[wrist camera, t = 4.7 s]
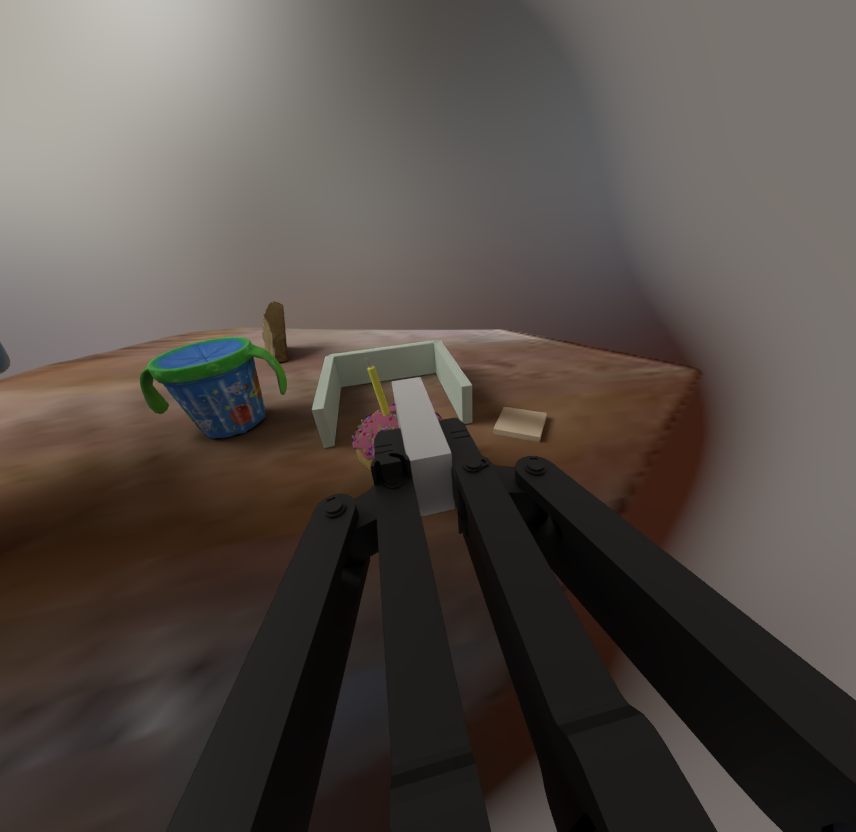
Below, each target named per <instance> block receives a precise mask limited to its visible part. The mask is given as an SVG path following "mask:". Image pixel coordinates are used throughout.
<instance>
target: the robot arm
mask: <svg viewBox="0 0 856 832" xmlns="http://www.w3.org/2000/svg"><path fill="white" fill-rule="evenodd" d="M9 366H10V359H9V356H8V354H7V353H6V351H5V349H4V347H3V346H2V344H1V343H0V374H1V373H3V372H5V371H6V370H7V369H8V367H9ZM392 388H393V394H394V400H395V406H396V412H397V418H398V425H399V428H398V429H392V430H386V431H380V432H378V433H377V435H376V436H375V438H374V451H375V458H374V460H373V461H372V462H371V466H370V468H371V472H372V476H373V480H374V485H373V487H372V488H371V489H370V490H369V491H367V492H366V493H364V494H362V495H361V496H358V497H356V498H354V499H353V498H352V497H351V496H349V495H346V494H336V495H332V496H330V497H327V498H325V499H324V500H323V501H321V502H320V503H319V504H318V506H317V507H316V508H315V510H314V512H313V514H312V517H311V519H310V521H309V523H308V525H307V527H306V530H305V532H304V534H303V536H302V538H301V540H300V542H299V545H298V547H297V549H296V551H295V553H294V555H293V558H292V560H291V562H290V564H289V566H288V568H287V571H286V573H285V575H284V577H283V579H282V581H281V584H280V586H279V588H278V590H277V592H276V594H275V597H274V599H273V601H272V603H271V605H270V607H269V610H268V612H267V614H266V616H265V618H264V620H263V623H262V625H261V627H260V629H259V631H258V633H257V636H256V638H255V640H254V642H253V644H252V646H251V649H250V651H249V653H248V655H247V657H246V659H245V662H244V664H243V666H242V668H241V670H240V672H239V674H238V677H237V679H236V681H235V683H234V685H233V687H232V690H231V692H230V694H229V696H228V698H227V700H226V703H225V705H224V707H223V709H222V711H221V713H220V716H219V718H218V720H217V722H216V724H215V726H214V729H213V731H212V733H211V735H210V737H209V739H208V742H207V744H206V746H205V748H204V750H203V752H202V755H201V757H200V759H199V761H198V763H197V765H196V768H195V770H194V772H193V774H192V776H191V778H190V781H189V783H188V785H187V787H186V789H185V791H184V794H183V796H182V798H181V800H180V802H179V804H178V806H177V809H176V811H175V813H174V815H173V817H172V819H171V822H170V824H169V826H168V828H167V830H166V832H308V827H309V823H310V819H311V814H312V810H313V806H314V801H315V797H316V792H317V788H318V784H319V779H320V775H321V771H322V766H323V762H324V758H325V753H326V749H327V745H328V740H329V736H330V732H331V727H332V723H333V719H334V714H335V710H336V706H337V701H338V697H339V693H340V688H341V684H342V679H343V675H344V671H345V666H346V662H347V658H348V653H349V649H350V645H351V640H352V636H353V632H354V627H355V623H356V619H357V614H358V610H359V606H360V601H361V597H362V593H363V588H364V584H365V580H366V575H367V571H368V566H369V562H370V556H372V555H374V554H376V553H377V552H379V564H380V581H381V597H382V614H383V630H384V647H385V663H386V680H387V696H388V713H389V729H390V745H391V765H392V776H391V784H390V832H491V829H490V825H489V820H488V816H487V812H486V807H485V802H484V798H483V793H482V789H481V784H480V780H479V776H478V772H477V768H476V764H475V760H474V757H473V754H472V750H471V746H470V742H469V737H468V732H467V728H466V723H465V718H464V714H463V709H462V704H461V700H460V695H459V690H458V686H457V681H456V677H455V672H454V667H453V663H452V658H451V653H450V649H449V644H448V640H447V635H446V630H445V626H444V621H443V616H442V612H441V607H440V602H439V598H438V593H437V589H436V584H435V579H434V575H433V570H432V565H431V561H430V556H429V552H428V547H427V542H426V538H425V533H424V528H423V524H422V519H421V516H424V515H429V514H434V513H439V512H444V511H448V510H453V509H455V504H456V507H457V510H458V526H459V534H462V533H463V536H464V539H465V542H466V545H467V548H468V551H469V554H470V557H471V560H472V563H473V566H474V569H475V572H476V575H477V578H478V581H479V584H480V587H481V590H482V593H483V596H484V599H485V602H486V605H487V607H488V610H489V613H490V616H491V619H492V622H493V625H494V628H495V631H496V634H497V637H498V640H499V643H500V646H501V649H502V652H503V655H504V658H505V661H506V664H507V667H508V670H509V673H510V676H511V679H512V682H513V685H514V688H515V691H516V694H517V697H518V700H519V703H520V706H521V709H522V712H523V715H524V718H525V721H526V724H527V727H528V730H529V733H530V736H531V739H532V742H533V745H534V748H535V751H536V754H537V757H538V760H539V764H540V768H541V772H542V777H543V783H544V788H545V792H546V796H547V800H548V804H549V807H550V810H551V813H552V817H553V820H554V823H555V826H556V829H557V832H717V830H716V828H715V827H714V825H713V823H712V822H711V820H710V818H709V817H708V815H707V813H706V811H705V810H704V808H703V806H702V805H701V803H700V801H699V800H698V798H697V796H696V795H695V793H694V791H693V789H692V788H691V786H690V784H689V783H688V781H687V779H686V778H685V776H684V774H683V773H682V771H681V770H680V768H679V766H678V764H677V762H676V761H675V759H674V758H673V756H672V754H671V752H670V751H669V749H668V747H667V746H666V744H665V742H664V741H663V739H662V738H661V736H660V735H659V733H658V732H657V730H656V729H655V727H654V726H653V725H652V723H651V722H650V721H649V720H648V719H647V718H646V717H645V716H644V714H643V713H641V712H640V711H638V710H637V709H635V708H634V707H632V706H631V705H629V704H628V703H627V701H626V700H625V699H624V698H623V696H622V694H621V693H620V691H619V690H618V688H617V686H616V684H615V682H614V681H613V679H612V677H611V675H610V674H609V672H608V670H607V668H606V666H605V665H604V663H603V661H602V659H601V657H600V656H599V654H598V652H597V650H596V649H595V647H594V645H593V643H592V641H591V640H590V638H589V636H588V634H587V633H586V631H585V629H584V627H583V625H582V624H581V622H580V620H579V618H578V617H577V615H576V613H575V611H574V609H573V607H572V606H571V604H570V602H569V600H568V599H567V597H566V595H565V593H564V591H563V590H562V588H561V586H560V584H559V582H558V581H557V579H556V577H555V575H554V574H553V572H554V573H555V574H556V575H557V576H558V577H559V578H560V580H561V581H562V582H563V583H564V584H565V585H566V587H567V588H568V589H569V590H570V591H571V592H572V593H573V595H574V596H575V597H576V598H577V599H578V600H579V602H580V603H581V604H582V605H583V606H584V607H585V609H586V610H587V611H588V612H589V613H590V614H591V615H592V617H593V618H594V619H595V620H596V621H597V622H598V624H599V625H600V626H601V627H602V628H603V629H604V631H605V632H606V633H607V634H608V635H609V636H610V637H611V639H612V640H613V641H614V642H615V643H616V644H617V645H618V647H619V648H620V649H621V650H622V651H623V652H624V654H625V655H626V656H627V657H628V658H629V659H630V661H631V662H632V663H633V664H634V665H635V666H636V668H637V669H638V670H639V671H640V672H641V673H642V674H643V676H644V677H645V678H646V679H647V680H648V681H649V683H650V684H651V685H652V686H653V687H654V688H655V689H656V690H657V692H658V693H659V694H660V695H661V696H662V698H663V699H664V700H665V701H666V702H667V703H668V705H669V706H670V707H671V708H672V709H673V710H674V711H675V713H676V714H677V715H678V716H679V717H680V718H681V720H682V721H683V722H684V723H685V724H686V725H687V726H688V728H689V729H690V730H691V731H692V732H693V733H694V734H695V736H696V737H697V738H698V739H699V740H700V742H701V743H702V744H703V745H704V746H705V747H706V748H707V750H708V751H709V752H710V753H711V754H712V755H713V757H714V758H715V759H716V760H717V761H718V762H719V764H720V765H721V766H722V767H723V768H724V769H725V770H726V772H727V773H728V774H729V775H730V776H731V777H732V778H733V780H734V781H735V782H736V783H737V784H738V785H739V786H740V787H741V788H742V789H743V790H744V792H745V793H746V794H747V795H748V796H749V797H750V798H751V799H752V800H753V801H754V802H755V804H756V805H757V806H758V807H759V808H760V809H761V810H762V811H763V812H764V813H765V814H766V815H767V816H768V817H769V818H770V819H771V820H772V821H773V822H774V823H775V824H776V825H777V826H778V827H779V828H780V829H781V830H782V831H783V832H856V700H854V699H853V698H852V697H851V696H849V695H848V694H847V693H846V692H844V691H843V690H842V689H840V688H839V687H838V686H837V685H835V684H834V683H833V682H832V681H830V680H829V679H828V678H826V677H825V676H824V675H823V674H821V673H820V672H819V671H817V670H816V669H815V668H813V667H812V666H811V665H810V664H808V663H807V662H806V661H804V660H803V659H802V658H801V657H800V656H798V655H797V654H796V653H794V652H793V651H792V650H791V649H789V648H788V647H787V646H785V645H784V644H783V643H782V642H780V641H779V640H778V639H776V638H775V637H774V636H773V635H771V634H770V633H769V632H768V631H766V630H765V629H764V628H762V627H761V626H760V625H758V624H757V623H756V622H755V621H753V620H752V619H751V618H750V617H748V616H747V615H746V614H744V613H743V612H742V611H741V610H739V609H738V608H737V607H736V606H734V605H733V604H732V603H730V602H729V601H728V600H727V599H725V598H724V597H723V596H721V595H720V594H719V593H717V592H716V591H715V590H714V589H713V588H711V587H710V586H709V585H707V584H706V583H705V582H704V581H702V580H701V579H700V578H698V577H697V576H696V575H695V574H693V573H692V572H691V571H690V570H688V569H687V568H686V567H684V566H683V565H682V564H681V563H679V562H678V561H677V560H675V559H674V558H673V557H672V556H670V555H669V554H668V553H666V552H665V551H664V550H663V549H661V548H660V547H659V546H658V545H656V544H655V543H654V542H652V541H651V540H650V539H649V538H647V537H646V536H645V535H643V534H642V533H641V532H640V531H638V530H637V529H636V528H634V527H633V526H632V525H631V524H629V523H628V522H627V521H626V520H624V519H623V518H622V517H620V516H619V515H618V514H617V513H615V512H614V511H613V510H612V509H610V508H609V507H608V506H606V505H605V504H604V503H603V502H601V501H600V500H599V499H597V498H596V497H595V496H594V495H592V494H591V493H590V492H588V491H587V490H586V489H585V488H583V487H582V486H581V485H580V484H578V483H577V482H576V481H574V480H573V479H572V478H571V477H569V476H568V475H567V474H565V473H564V472H563V471H562V470H560V469H559V468H558V467H557V466H555V465H554V464H553V463H551V462H550V461H548V460H546V459H545V458H541V457H538V456H528V457H523V458H521V459H520V460H518V461H517V463H516V465H515V467H503V466H497V465H493V464H492V463H491V462H490V461H489V459H488V458H486V457H484V456H481V454H480V452H479V450H478V449H477V447H476V445H475V443H474V441H473V439H472V437H471V436H470V434H469V432H468V431H467V428H466V426H465V424H464V423H463V422H462V421H460V420H459V419H457V418H450V419H445V420H439V421H438V419H437V417H436V414H435V412H434V409H433V407H432V404H431V402H430V399H429V397H428V395H427V392H426V390H425V387H424V385H423V382H422V380H421V378H420V377H418V378H411V379H405V380H399V381H392ZM454 501H455V502H454ZM551 569H552V570H553V572H552V570H551Z"/></svg>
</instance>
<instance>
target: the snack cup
mask: <svg viewBox="0 0 856 832" xmlns="http://www.w3.org/2000/svg"><path fill="white" fill-rule="evenodd" d="M253 357H257V358H261V359H265V360H266V361H267V362H268V363H269V365H270V366H271V367H272V369H273V370H274V371H275V373H276V375H277V379H278V384H279V388H280V393H281V394H282V395H284V394H285V392H286V389H287V379H286V375H285V372H284V370H283V368H282V367H281V365H280V363H279V362H278V361H277V360H276V358H275V357H274V356H273V355H272V354H271V353H269V352H268V351H267V350H265V349H263V348H261V347H258V346H255V345H253V344H252V343H251V342H250V340H248V339H247V338H242V337H224V338H216V339H210V340H205V341H201V342H196V343H192V344H189V345H185V346H182V347H179V348H176V349H173V350H170V351H168V352H165V353H163V354H161V355H159V356H157V357H156V358H154V359H153V360H151V361H150V362H149V363H148V365H147V368H146V369H145V370H143V372H142V373H141V376H140V385H141V389H142V392H143V395H144V398H145V400H146V402H147V404H148V406H149V407H150V408H151V409H152V410H153V411H154V412H155V413H159V414H162V413H164V412H165V411H166V410H167V409H168V407H169V404H168V403H167V402H166V401H165V399H164V398H163V397H162V396H161V395H160V394H159V392H158V391H157V390H156V389H155V388H154V386H153V378H154V379H155V380H157V381H158V382H159V383H162V384H163V385H164V386H165V387H166V388H167V390H168V391H169V393H170V394H171V395H172V396H173V397H174V399H175V400H176V401H177V402H178V403H179V405H180V406H181V407H182V409H183V410H184V411H185V412H186V413H187V415H188V416H189V417H190V418H191V419H192V421H193V422H195V424H196V425H197V427H198V428H199V429H200V430H201V431H202V432H203V433H204V434H205V435H208V436H209V437H210V438H214V439H215V438H225V437H230V436H233V435H236V434H241V433H246V432H247V430H249V429H251V428H253V427H254V426H256V425H257V424H258V423H259V422H260V421H261V420H262V419H264V418H265V406H264V404H263V399H262V393H261V388H260V384H259V380H258V376H257V372H256V368H255V362H254V358H253Z"/></svg>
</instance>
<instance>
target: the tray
mask: <svg viewBox="0 0 856 832" xmlns="http://www.w3.org/2000/svg"><path fill="white" fill-rule="evenodd" d="M365 358H368V360H369V362H370V364H371V366H375V368H376V371H377V374H378V377H379V380H380V381H386V380H393V379H400V378H406V377H413V376H420V375H426V374H433V373H436V374H437V376H438V378H439V380H440V382H441V384H442V386H443V388H444V390H445V392H446V394H447V395H448V397H449V399H450V401H451V403H452V405H453V407H454V409H455V411H456V413H457V415H458V417H459V419H460V420H461V421H462V422H463V423H464V424H469V423H472V384H471V383H470V381H469V380H468V379H467V377H466V376H465V374H464V373H463V372H462V370H461V369H460V367H459V366H458V364H457V363H456V362H455V360H454V359H453V357H452V356H451V355H450V353H449V352H448V350H447V349H446V348H445V346H444V345H443V343H442V342H441V341H436V340H432V341H425V342H417V343H410V344H403V345H395V346H388V347H381V348H373V349H366V350H359V351H352V352H344V353H337V354H330V356H326V357H325V361H324V365H323V368H322V372H321V376H320V380H319V384H318V388H317V391H316V395H315V399H314V403H313V407H312V413H313V416H314V419H315V423H316V426H317V429H318V432H319V435H320V438H321V441H322V445H323V448H328V447H334V446H335V437H336V428H337V419H338V411H339V402H340V393H341V387H346V386H353V385H359V384H366V383H372V381H371V379H370V376H369V373H368V370H367V369H368V368H369V366H368V364H367V361H366V359H365Z"/></svg>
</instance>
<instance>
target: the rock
mask: <svg viewBox="0 0 856 832" xmlns="http://www.w3.org/2000/svg"><path fill="white" fill-rule="evenodd" d="M263 323H264V326H263V333H262V335H263V336H262V337H263V340H264V342H265V350H267V351H268V352H269V353H271V354H272V355H273V356H274V357H275V358H276V360H277V361H278V362H284V361H287V360H288V357H287V344H286V333H285V321H284V309H283V305H282V304H280V303H277V302H273V303H270V304H269V305H268V307H267V309H266V312H265V314H264V319H263Z"/></svg>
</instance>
